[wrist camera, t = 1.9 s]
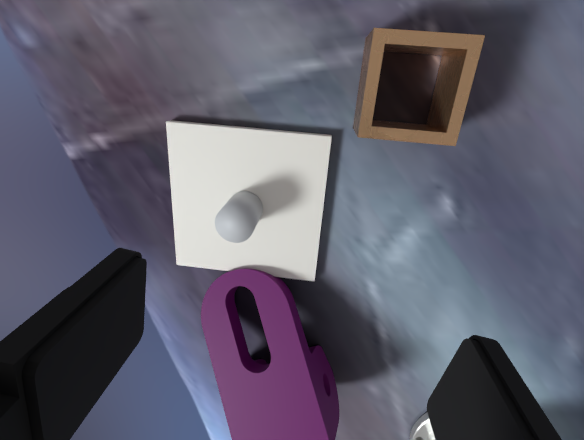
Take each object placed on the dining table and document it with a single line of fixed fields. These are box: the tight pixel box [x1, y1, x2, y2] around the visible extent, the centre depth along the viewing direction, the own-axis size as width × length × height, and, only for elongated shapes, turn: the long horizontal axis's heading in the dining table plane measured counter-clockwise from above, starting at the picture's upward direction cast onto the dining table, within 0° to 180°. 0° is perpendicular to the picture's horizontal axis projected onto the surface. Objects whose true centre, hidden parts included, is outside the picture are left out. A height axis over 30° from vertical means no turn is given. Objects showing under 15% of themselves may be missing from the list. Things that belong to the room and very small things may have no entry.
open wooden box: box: [353, 28, 485, 146], centre depth 23 cm, size 7×7×5 cm
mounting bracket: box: [201, 268, 339, 440], centre depth 35 cm, size 10×8×18 cm
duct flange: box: [166, 120, 332, 281], centre depth 29 cm, size 14×14×5 cm
